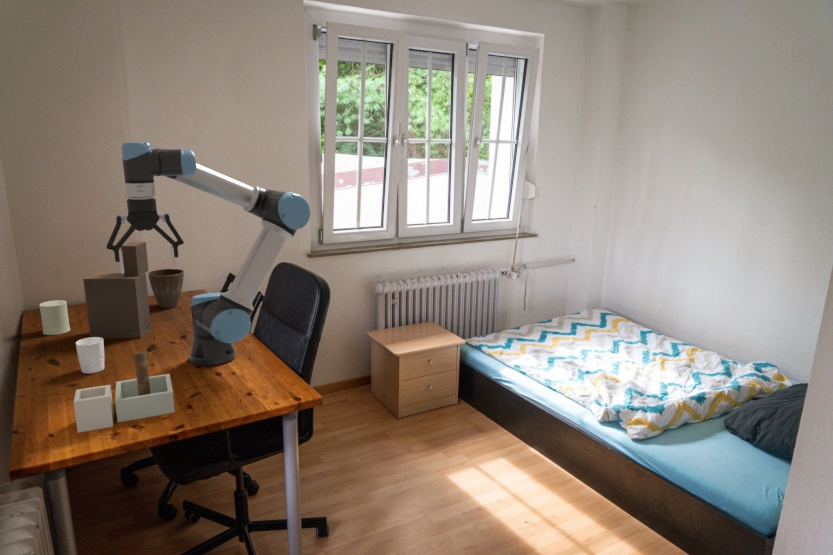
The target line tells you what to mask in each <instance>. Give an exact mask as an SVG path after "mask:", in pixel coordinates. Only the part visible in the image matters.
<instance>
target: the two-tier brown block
mask: <svg viewBox="0 0 833 555" xmlns="http://www.w3.org/2000/svg"><path fill="white" fill-rule="evenodd" d="M120 250H122V257H123V265H124V274H121V272H95V273H93V274H91V275H89V276H86V277H85V278H83V279H82V280H83V282H82V283H83V287H84V288H83V289H84V297H85V304H86V312H87V320H88V321H87V322H88V329H89V334H88V336H89V338H90V337H100V338H103V339H142V338H144V336H145V335H147V334H148V333H149V332H150V331H151V330H152V322H151V314H150V303H149V294H148V285H147V283H148V281H147V272H150V271H149V260H148V252H147V250H148V249H147V243H146V241H130V242H127V243H124V244H123V245H122V246H121V248H120Z"/></svg>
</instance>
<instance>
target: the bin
mask: <svg viewBox="0 0 833 555" xmlns="http://www.w3.org/2000/svg"><path fill="white" fill-rule="evenodd" d="M149 384H150V394H147V395H141V396H139V395H138V385H137V378H132V379H125V380H119V381H116V382H115V394H114V396H115V398H114V404H115V414H116V420H117V423H123V422H129V421H133V420H139V419H145V418H150V417H151V418H152V417H157V416H162V415H168V414H174V413H175V402H174V401H175V400H174V389H173V386H172V379H171V374H170V373H166V374H158V375H152V376H149Z"/></svg>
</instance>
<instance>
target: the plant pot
mask: <svg viewBox="0 0 833 555" xmlns="http://www.w3.org/2000/svg"><path fill="white" fill-rule="evenodd" d="M184 274H185V270H182V269H178V268H175V269H172V268H163V269H155V270H151V271H148V273H147V276H148V280H149V283H150V288H151V290H152V292H153V296H154V297H155V300H156V302H157V304H158V306H159V308H160V309H172V308H175V307H178V304H179V302H180V298H181V295H182V289H183V285H184Z"/></svg>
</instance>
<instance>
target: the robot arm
mask: <svg viewBox="0 0 833 555" xmlns="http://www.w3.org/2000/svg"><path fill="white" fill-rule="evenodd" d="M121 161H122V168H123V175H124V177H123V178H124V187H125V189H124V190H125V195H126V198H127V200H126V204H127V206H126V207H127V216H122V215H120V214H119V215H116V222H115V223H116V224H115V226H114V228H113V230H112V232H111V235H110V237H109V239H108V242H107V244H106V249H107V250H110V251H113V254H114V260H115V262H116V263H119V265H120V273H121V274H124V265H123V257H122V250H121V246H122V245H125V244H126V243H125V242H126V241H127V240H128V239H129V238H130V236H131V235H132V234H133V233H134V232H135V231H138V232H142V231H152V230H153V229H154V230H155V231H156V232H157V233H158V234H160V235H161V237H162V238H164V239H165V240H166V241H167V242H168V243H169V244H170V245H171V246H169V250H170V259H171V260H170V261H171V269H176V261H175V260H176V259H175V258H178V257H179V248H178V247H179V246H181V245H184V243H185V242H184V240H183V239H182V237H181V236H180V233H179V232H178V231H177V229H176V228H175V226H174V225H173V224H172V222H171V218H170V214H169V213H166V212H165V213H164V214H158V210H157V207H158V206H157V199H156V198H155V196H156V188H155V177H160V176H161V177H166V178H169V179H172V180H174V181H177V182H180V183H182V184H184V185H186V186H190V187H192V188H195V189H197V190H198V191H202V192H205V193H207V194H209V195H211V196H212V195H213V196H214V197H217V198H220V199H222V200H225V201H227V202H230V203H232V204H234V205H237V206H240V207H242V209H243V211H244V212H247V213H250V214H252V215H254V216H256V217H257V218H260V219H261V225H262V228H261V230H260V232H259V234H258V236H257V238H256V239H255V241H254V243H253V244H252V247H251V249H250V250H249V251H248V254H247V256H246V258H245V260H244V261H243V263H242V265H241V266H240V267H239V268H240V269H239V270H238V272H237V274H236V276H235V277H234V279H233V281H232V283H231V284H230V287H229V288H228V290H227V291H225V292H207V293H202V294H197V295H194V296H192V297H191V299H190V309H191V318H192V319H191V320H192V321H191V322H192V332H193V340H192V344H191V348H190V351H189V361H190V363H192V364H193V365H196V366H204V367H205V366H217V365H222V364H226V363H228V362H230V361H233V360H234V359H235V358H236V355H237V353H236V348H235V346H234V343H237V342H240V341H242V340H243V339H244V338H245V337H247V335H248V333H249V332H250V330H251V326H252V322H251V318H250V317H251V315H252V314H253V312H254V311H255V310H254V306H253V303H254V300H255V298H256V296H257V294H258V293H259V291H260V290H261V287H262V286H263V284H264V282H265V280H266V279H267V276H268V274H269V272H270V270H271V268H272V266H273V265H274V263H275V261H276V260H277V258H278V256H279V254H280V252H281V250H282V248H283V246H284V244H285V243H286V241H287V240H290V239H293V238H294V236H295V235H296V232H297V231H298V230H300V229H302V228H304V227H305V226H307V225H308V223H309V222H310V218H311V209H310V204H309V202H308V200H307V199H306V198H305V197H304V196H302V195H301V194H299V193H295V192H291V191H290V192H289V191H281V190H273V189H268V188H263V187H260V186H258V185H255V184H253V185H251V186H250V185H248V184H246V183H244V182H241V181H239V180H236V179H234V178H231V177H229V176H227V175H225V174H222V173H220V172H217V171H215V170H213V169H211V168H208V167H205V166H203V165H201V164H199V163H197V158H196V155H195V153H194V151H193V150H191V149H183V148H180V149H171V148H170V149H167V148H158V147H157V148H153V149H152V147H151V143H150V142H126V141H125V142H124V143H122V144H121ZM159 220H162V222H165V223H166V225H167V227H168V228H169V230H170V231H171V233H173V235H174V237H175V238H176V241H175V240H174V239H173V238H172V237H171V236H170V235H169V234H167V233H166V232H165V231H164V229H162V228H161V227H160V226H159V225H158V224H157V223H158V222H159ZM126 221H127V222H128V223H129V224H130V226H129V227H128V228H127V230H126V231H125V233H124V234H123V235H122V236H121V237H120V238H119V240H118V241H117V243H116V244H114V242H115V240H116V238H117V236H118V234H119V231H120V229H121V226H122V225H123V224H125V222H126Z"/></svg>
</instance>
